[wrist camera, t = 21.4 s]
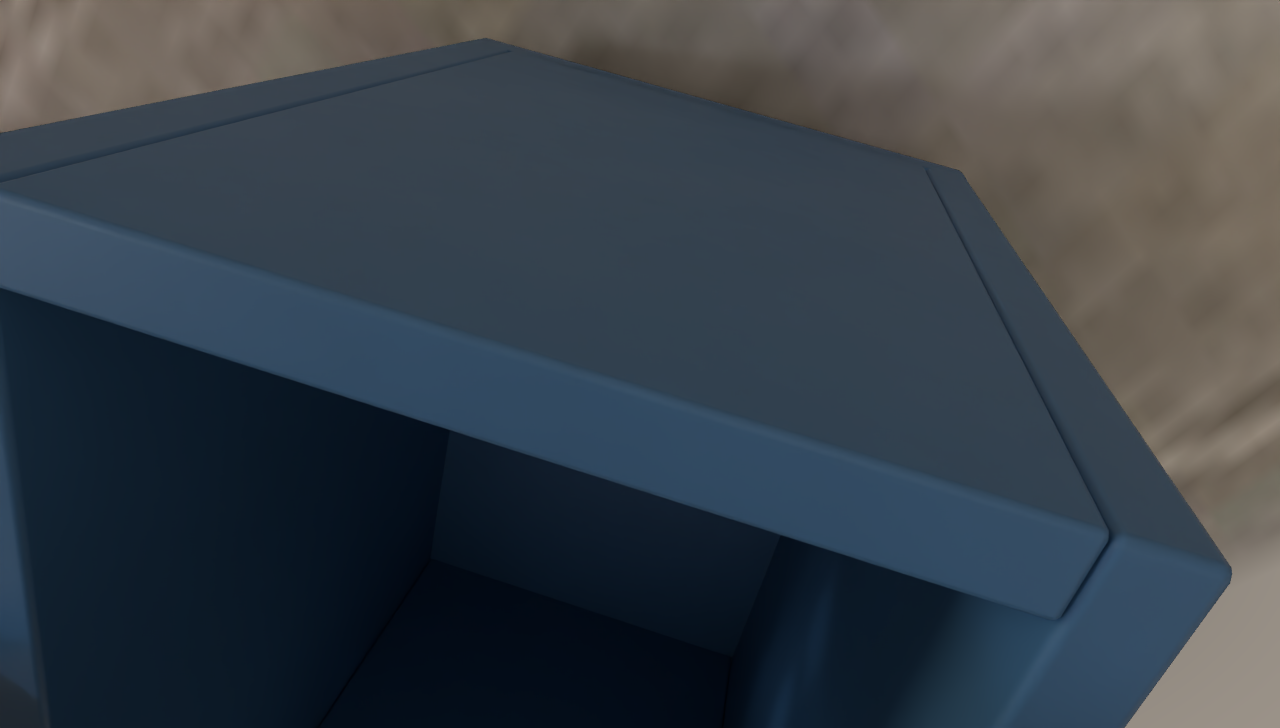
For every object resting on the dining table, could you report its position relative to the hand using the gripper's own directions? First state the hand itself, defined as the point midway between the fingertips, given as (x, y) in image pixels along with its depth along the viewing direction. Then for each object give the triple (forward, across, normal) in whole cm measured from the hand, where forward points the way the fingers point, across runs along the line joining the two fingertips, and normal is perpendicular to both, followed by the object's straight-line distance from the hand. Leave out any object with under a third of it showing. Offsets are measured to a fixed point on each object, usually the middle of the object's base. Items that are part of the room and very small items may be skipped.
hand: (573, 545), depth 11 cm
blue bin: (+4, 0, 0) cm, 4 cm away
